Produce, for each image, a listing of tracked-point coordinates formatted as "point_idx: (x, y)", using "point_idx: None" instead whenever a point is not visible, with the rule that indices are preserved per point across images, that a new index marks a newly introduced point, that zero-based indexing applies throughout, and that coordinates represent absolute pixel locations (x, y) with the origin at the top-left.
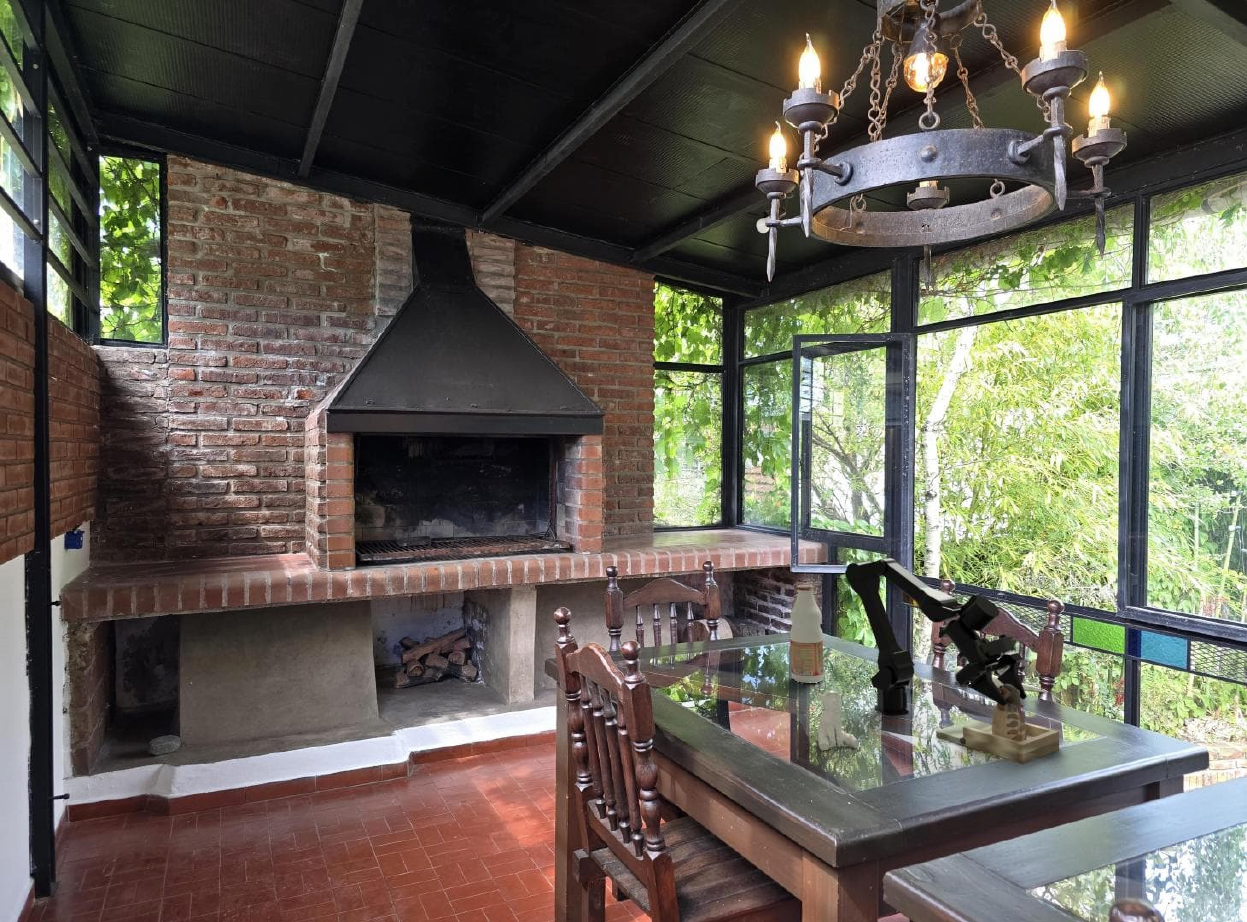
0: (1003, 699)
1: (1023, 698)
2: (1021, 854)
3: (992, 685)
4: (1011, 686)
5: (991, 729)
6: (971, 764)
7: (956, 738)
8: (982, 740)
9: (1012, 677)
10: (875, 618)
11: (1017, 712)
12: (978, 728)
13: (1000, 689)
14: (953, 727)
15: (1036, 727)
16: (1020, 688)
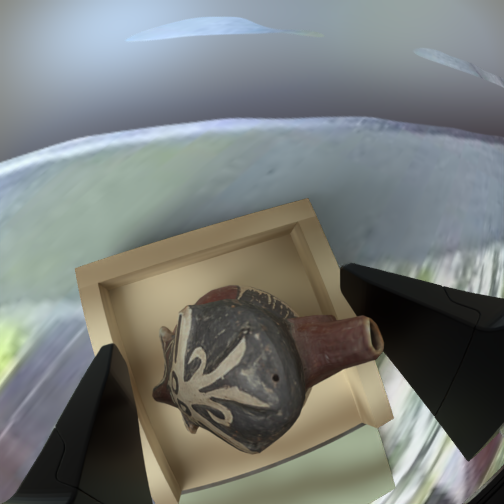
0: (370, 268)
1: (123, 360)
2: (439, 51)
3: (475, 295)
4: (264, 327)
5: (236, 456)
6: (417, 266)
7: (376, 432)
8: None
9: (99, 498)
10: None
11: (246, 288)
12: (250, 497)
13: (373, 333)
14: None
15: (111, 340)
16: (107, 388)
